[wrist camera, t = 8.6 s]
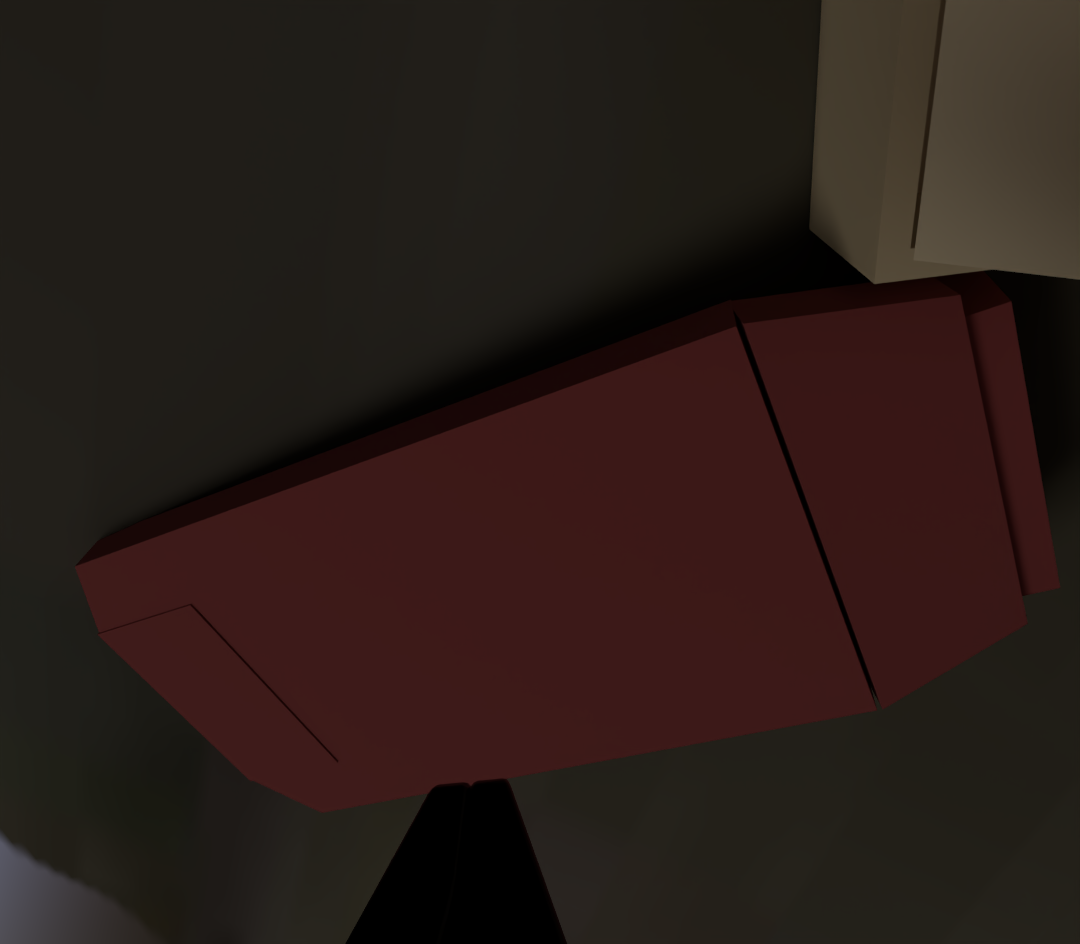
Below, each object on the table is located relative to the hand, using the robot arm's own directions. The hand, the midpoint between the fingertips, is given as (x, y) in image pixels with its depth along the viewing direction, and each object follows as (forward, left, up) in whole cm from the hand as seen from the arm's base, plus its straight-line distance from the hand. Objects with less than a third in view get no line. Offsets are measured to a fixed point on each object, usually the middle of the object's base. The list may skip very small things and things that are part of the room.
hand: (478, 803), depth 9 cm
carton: (-7, 0, -14) cm, 15 cm away
